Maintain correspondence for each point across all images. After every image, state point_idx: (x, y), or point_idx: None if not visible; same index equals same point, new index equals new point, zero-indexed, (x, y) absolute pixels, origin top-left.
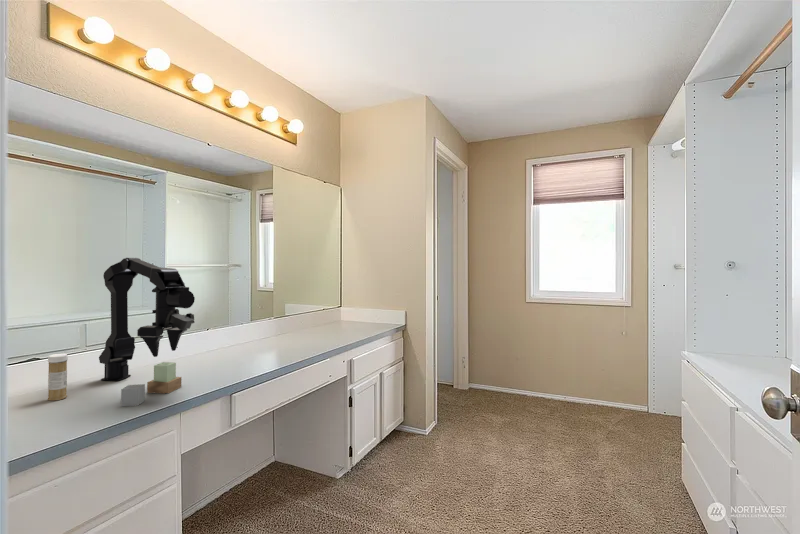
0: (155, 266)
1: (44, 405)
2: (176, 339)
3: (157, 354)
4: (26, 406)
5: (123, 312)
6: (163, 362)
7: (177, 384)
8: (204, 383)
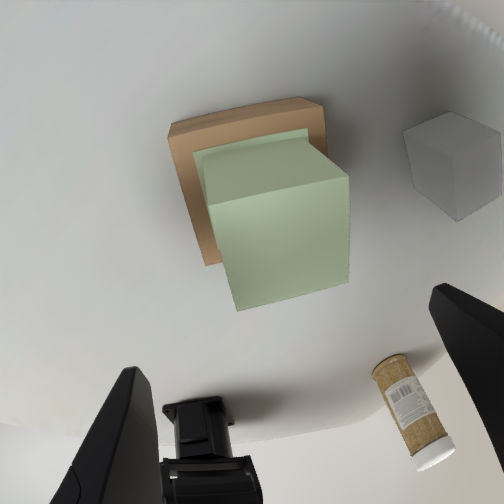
0: None
1: (430, 342)
2: (112, 491)
3: (452, 294)
4: (431, 358)
5: None
6: (244, 301)
7: (213, 117)
8: (62, 64)
